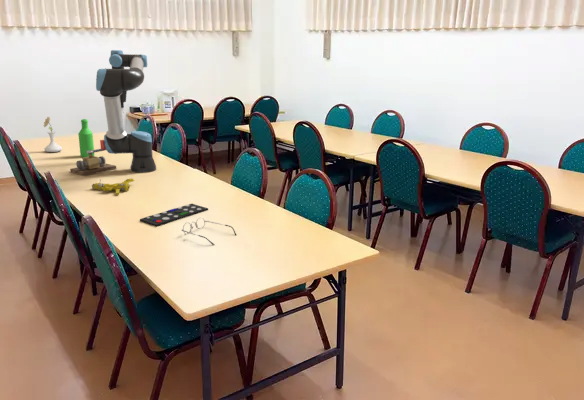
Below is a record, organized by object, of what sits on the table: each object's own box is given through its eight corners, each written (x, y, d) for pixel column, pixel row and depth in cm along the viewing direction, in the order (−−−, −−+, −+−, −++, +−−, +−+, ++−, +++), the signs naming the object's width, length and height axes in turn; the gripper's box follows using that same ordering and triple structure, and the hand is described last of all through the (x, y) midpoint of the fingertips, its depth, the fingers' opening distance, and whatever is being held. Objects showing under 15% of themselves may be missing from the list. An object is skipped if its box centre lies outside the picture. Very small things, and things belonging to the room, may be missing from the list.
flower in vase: (45, 150, 355) (41, 114, 348) (63, 149, 358) (59, 114, 351) (43, 154, 343) (38, 117, 336) (61, 153, 347) (57, 117, 339)
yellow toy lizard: (84, 194, 256) (122, 195, 254) (83, 182, 255) (121, 182, 253) (104, 186, 278) (139, 187, 276) (103, 175, 276) (138, 175, 274)
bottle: (91, 157, 336) (87, 120, 328) (78, 157, 336) (74, 120, 329) (96, 155, 344) (93, 118, 337) (84, 154, 344) (80, 118, 337)
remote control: (140, 222, 220) (139, 217, 219) (191, 206, 243) (191, 202, 243) (156, 228, 214) (156, 223, 213) (208, 211, 237) (208, 207, 236)
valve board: (116, 169, 308) (115, 151, 305) (84, 175, 291) (83, 157, 287) (101, 165, 316) (100, 148, 312) (70, 172, 298) (68, 154, 295)
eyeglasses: (205, 225, 217) (205, 215, 216) (238, 235, 207) (238, 224, 206) (178, 236, 205) (177, 224, 203) (212, 247, 195) (212, 235, 193)
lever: (89, 154, 295) (88, 143, 294) (85, 153, 297) (84, 142, 295) (110, 150, 308) (109, 139, 306) (106, 149, 309) (105, 139, 308)
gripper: (130, 76, 317) (132, 113, 324) (116, 74, 324) (119, 111, 331) (120, 76, 311) (123, 114, 318) (107, 75, 318) (110, 112, 325)
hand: (121, 112), depth 325 cm, fingers closed
